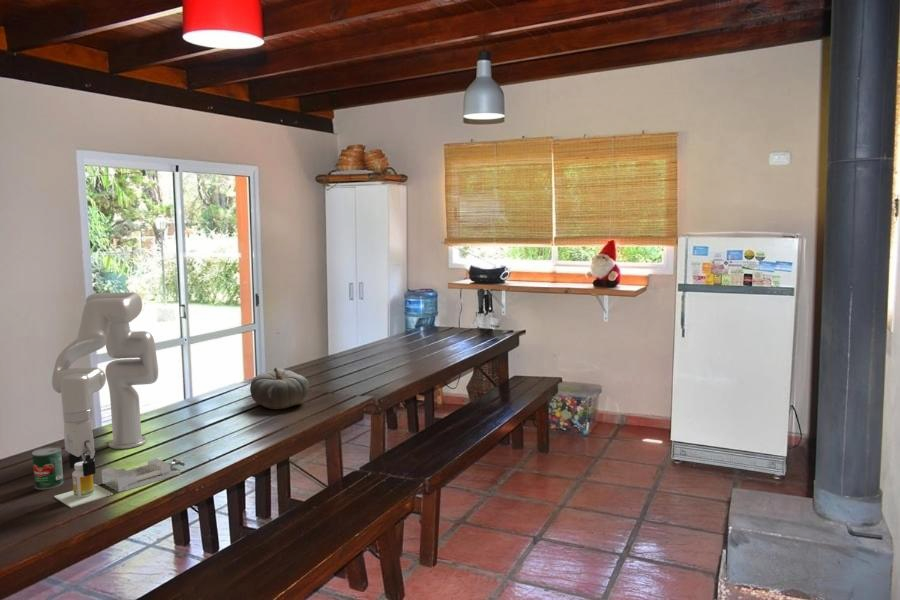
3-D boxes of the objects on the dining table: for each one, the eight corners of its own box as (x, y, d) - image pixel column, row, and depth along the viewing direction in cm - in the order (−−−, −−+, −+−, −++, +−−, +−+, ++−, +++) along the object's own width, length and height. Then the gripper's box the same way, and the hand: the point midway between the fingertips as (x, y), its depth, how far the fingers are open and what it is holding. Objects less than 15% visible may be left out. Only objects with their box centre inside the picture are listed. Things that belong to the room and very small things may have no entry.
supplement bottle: (97, 490, 209) (95, 459, 208) (88, 497, 204) (86, 466, 203) (79, 491, 209) (77, 460, 208) (70, 498, 204) (67, 466, 203)
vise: (102, 483, 216) (101, 469, 216) (171, 463, 234) (170, 450, 233) (119, 492, 209) (118, 478, 208) (189, 471, 226) (188, 457, 226)
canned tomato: (32, 491, 211) (29, 456, 209) (36, 482, 218) (33, 448, 216) (62, 487, 214) (59, 452, 212) (65, 478, 221) (62, 445, 220)
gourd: (277, 389, 323) (278, 354, 318) (320, 403, 313) (321, 368, 308) (239, 407, 301) (239, 371, 296) (284, 423, 291) (285, 386, 286)
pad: (54, 497, 206) (54, 496, 206) (95, 485, 215) (95, 483, 215) (70, 507, 198) (70, 506, 198) (113, 494, 207) (113, 493, 207)
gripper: (52, 413, 206) (57, 467, 209) (76, 424, 195) (81, 482, 198) (78, 407, 212) (83, 460, 214) (103, 418, 201) (108, 474, 203)
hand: (82, 470), depth 206 cm, fingers open, 9 cm apart
